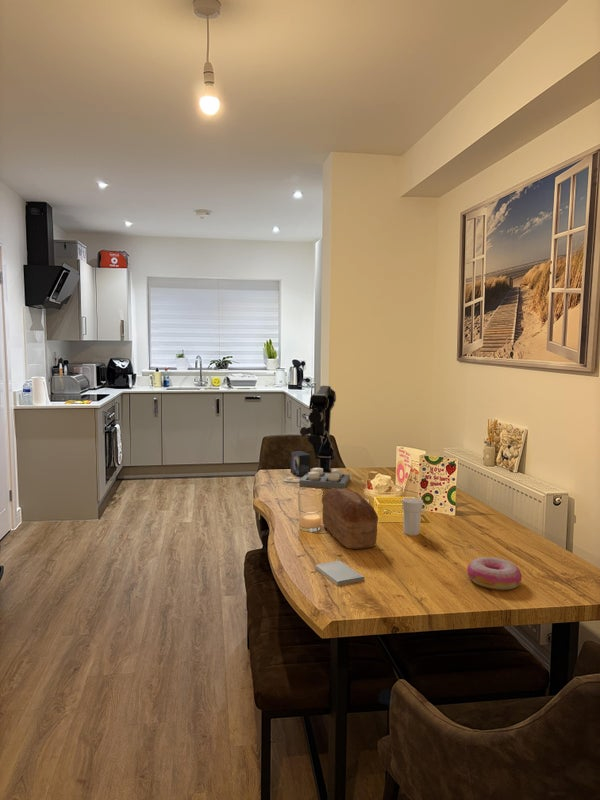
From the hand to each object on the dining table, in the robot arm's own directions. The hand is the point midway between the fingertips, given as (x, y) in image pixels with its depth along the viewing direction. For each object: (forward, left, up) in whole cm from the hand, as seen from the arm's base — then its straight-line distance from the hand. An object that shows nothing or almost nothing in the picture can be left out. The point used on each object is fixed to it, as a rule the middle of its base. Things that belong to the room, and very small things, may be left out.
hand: (318, 454), depth 254 cm
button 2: (0, 0, -10) cm, 10 cm away
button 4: (0, +9, -10) cm, 13 cm away
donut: (+100, +67, -12) cm, 120 cm away
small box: (-9, -10, -12) cm, 19 cm away
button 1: (+9, 0, -10) cm, 13 cm away
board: (+5, 0, -12) cm, 13 cm away
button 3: (+9, +9, -10) cm, 16 cm away
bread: (+75, +25, -12) cm, 79 cm away
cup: (+66, +45, -12) cm, 80 cm away
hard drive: (+106, +27, -13) cm, 109 cm away
